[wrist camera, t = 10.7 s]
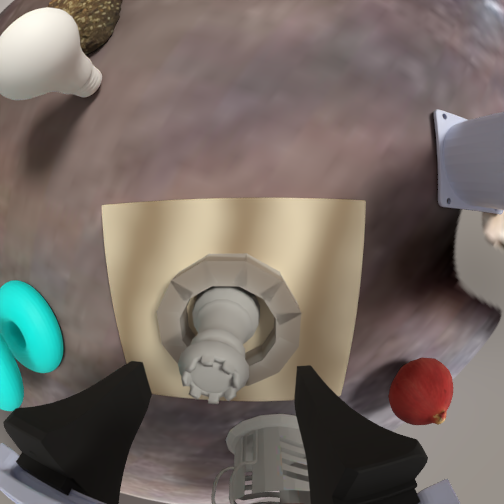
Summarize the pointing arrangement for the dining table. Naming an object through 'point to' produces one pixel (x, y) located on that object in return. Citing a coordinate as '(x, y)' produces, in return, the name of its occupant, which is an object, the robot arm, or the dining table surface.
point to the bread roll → (91, 19)
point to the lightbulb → (45, 57)
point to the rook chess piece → (219, 343)
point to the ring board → (239, 228)
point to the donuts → (25, 339)
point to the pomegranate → (421, 392)
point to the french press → (268, 460)
